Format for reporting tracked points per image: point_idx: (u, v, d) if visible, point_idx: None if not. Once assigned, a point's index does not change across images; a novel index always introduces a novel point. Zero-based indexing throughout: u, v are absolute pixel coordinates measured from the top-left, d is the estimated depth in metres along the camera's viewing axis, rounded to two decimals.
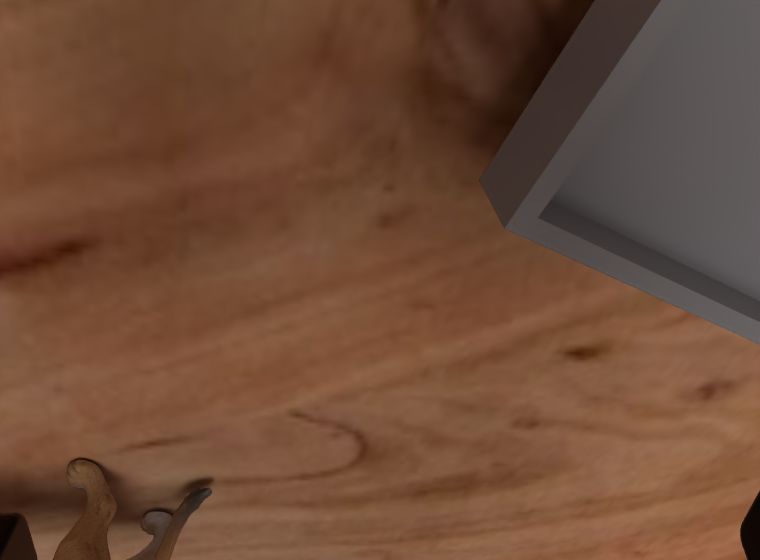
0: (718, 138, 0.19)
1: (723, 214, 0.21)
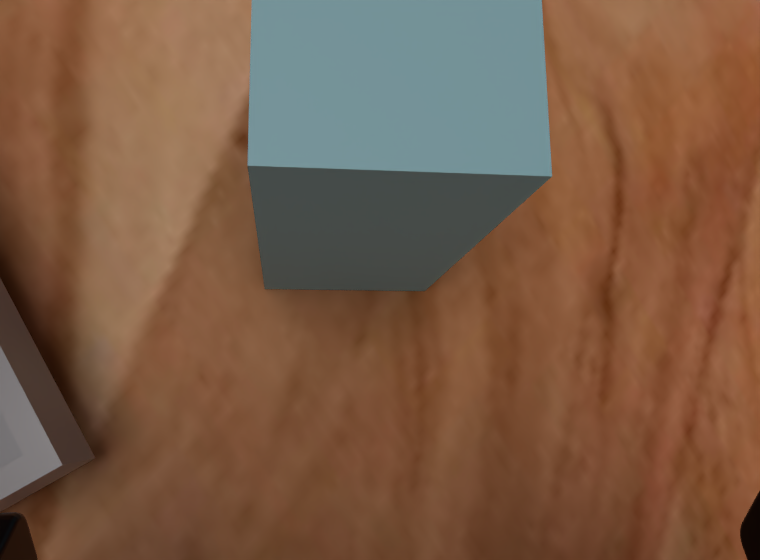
0: None
1: None
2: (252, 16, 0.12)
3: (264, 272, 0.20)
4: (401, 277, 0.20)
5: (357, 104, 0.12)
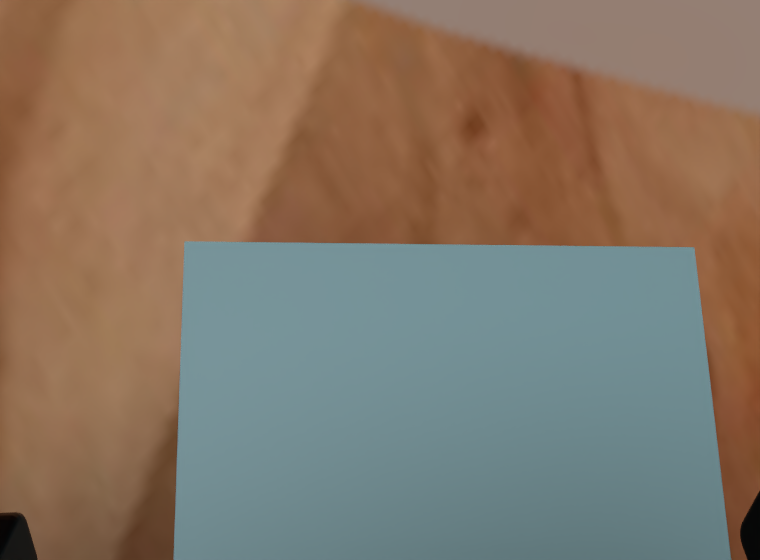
0: None
1: None
2: (177, 515, 0.06)
3: None
4: None
5: None
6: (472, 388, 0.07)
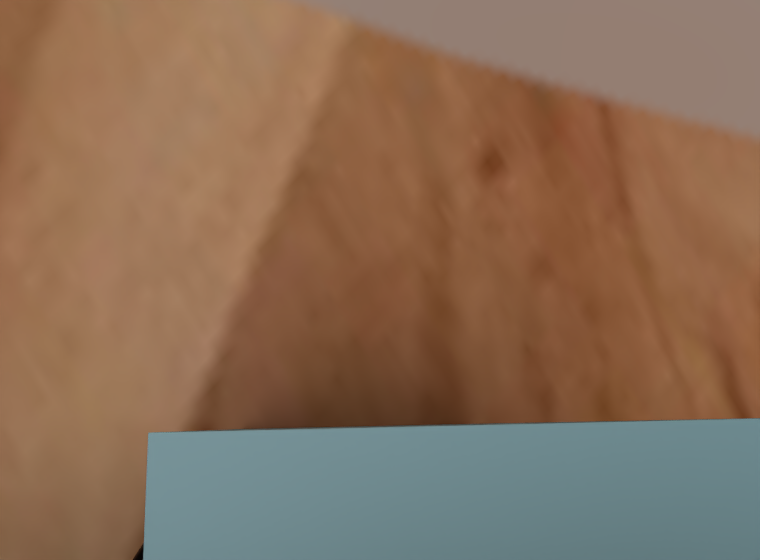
0: None
1: None
2: None
3: None
4: None
5: None
6: None
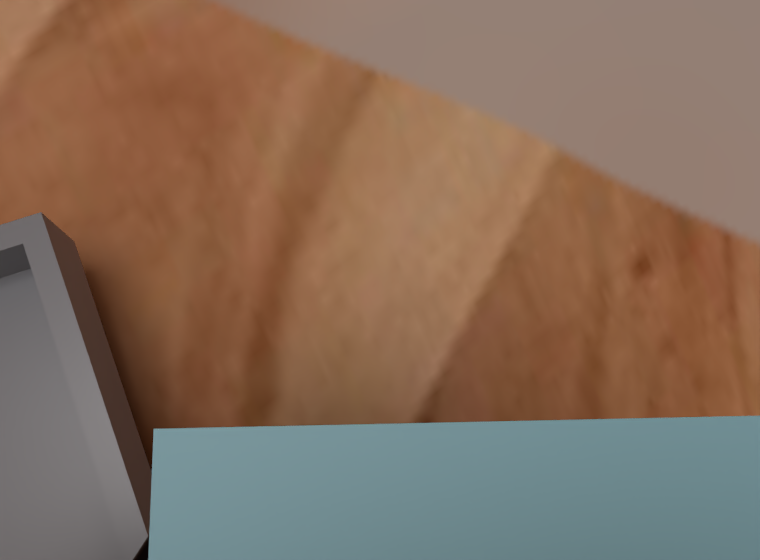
0: None
1: None
2: None
3: None
4: None
5: None
6: None
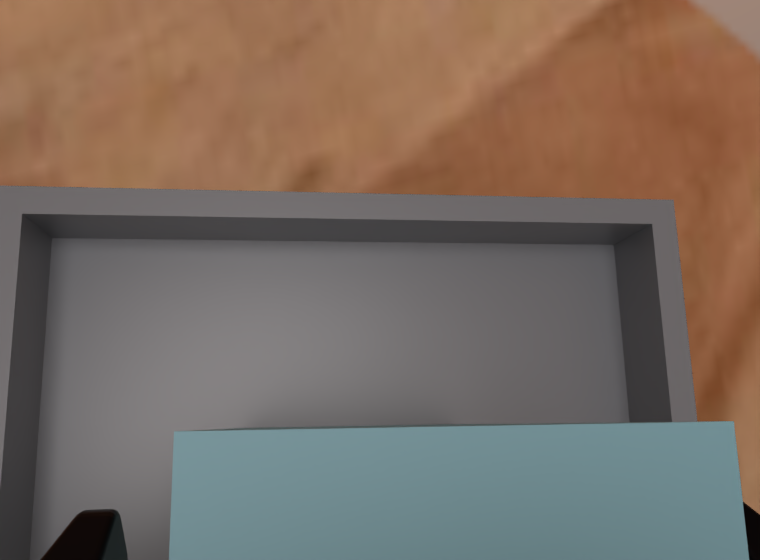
0: None
1: None
2: None
3: None
4: None
5: None
6: None
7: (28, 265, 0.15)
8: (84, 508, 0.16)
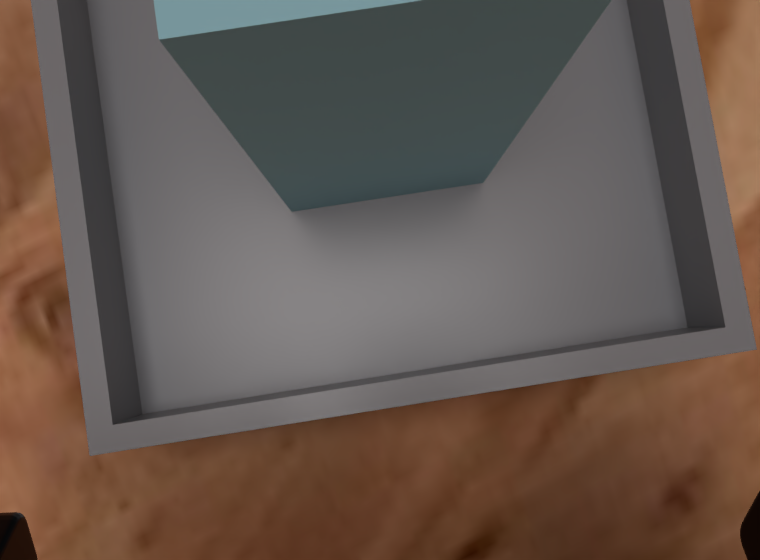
0: (291, 251, 0.18)
1: (371, 304, 0.18)
2: None
3: (279, 192, 0.16)
4: (449, 170, 0.16)
5: None
6: None
7: None
8: (143, 106, 0.19)
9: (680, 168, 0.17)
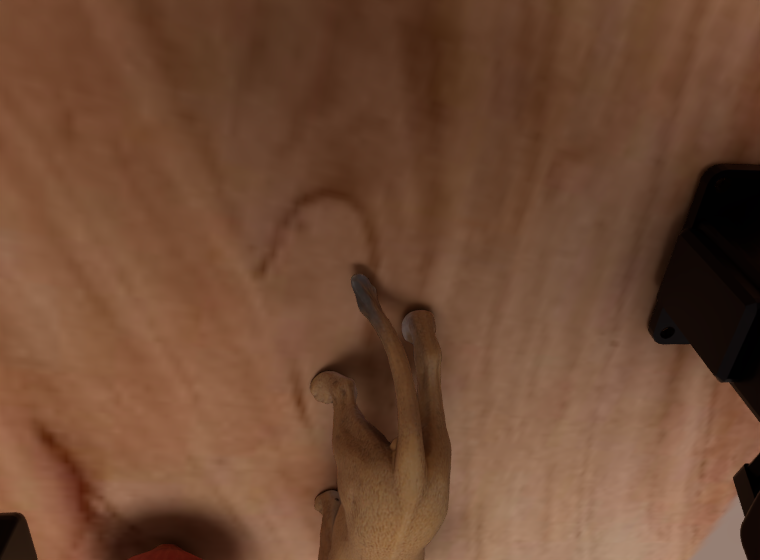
0: None
1: None
2: None
3: None
4: None
5: None
6: None
7: None
8: None
9: None
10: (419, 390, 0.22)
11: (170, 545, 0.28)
